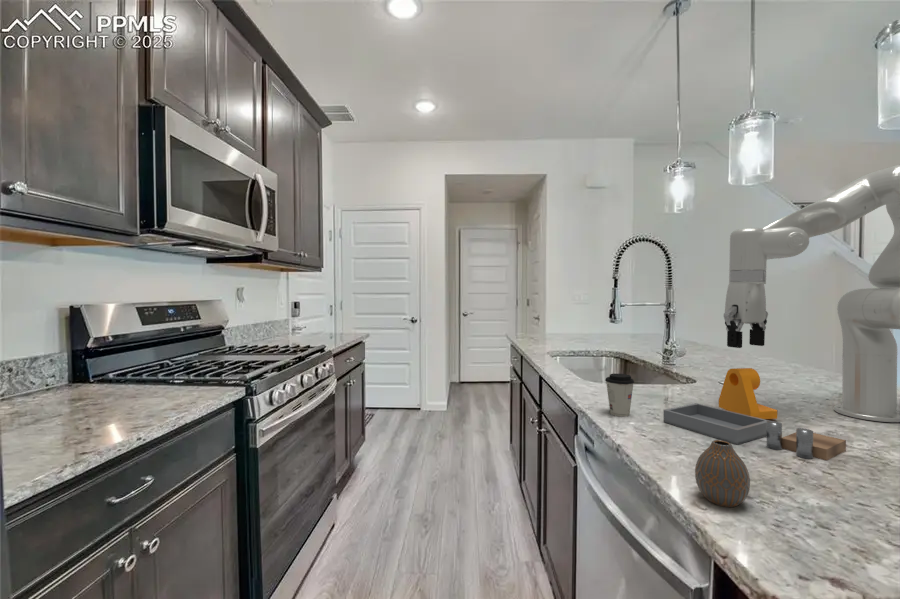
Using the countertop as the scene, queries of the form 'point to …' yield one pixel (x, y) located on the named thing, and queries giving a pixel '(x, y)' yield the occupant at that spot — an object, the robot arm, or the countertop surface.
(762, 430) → the tray
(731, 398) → the bracket
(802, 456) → the peg
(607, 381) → the coffee cup
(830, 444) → the tan slab
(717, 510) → the countertop surface
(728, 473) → the vase
